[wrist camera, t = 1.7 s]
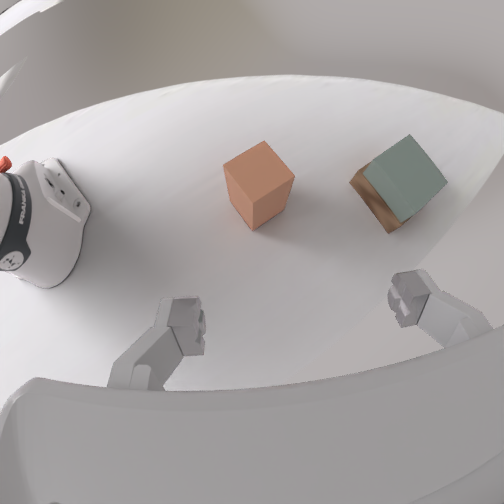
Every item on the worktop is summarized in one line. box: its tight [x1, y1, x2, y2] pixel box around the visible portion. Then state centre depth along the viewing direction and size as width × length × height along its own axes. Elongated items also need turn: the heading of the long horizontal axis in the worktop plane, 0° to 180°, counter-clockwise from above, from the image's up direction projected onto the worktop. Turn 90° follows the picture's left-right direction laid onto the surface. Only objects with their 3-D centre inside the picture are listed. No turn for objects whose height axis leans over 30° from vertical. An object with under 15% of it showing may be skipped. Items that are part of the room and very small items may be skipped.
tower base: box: [349, 161, 412, 234], centre depth 36 cm, size 9×9×4 cm
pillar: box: [223, 141, 295, 231], centre depth 32 cm, size 5×5×10 cm
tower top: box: [363, 134, 448, 222], centre depth 32 cm, size 8×8×4 cm
